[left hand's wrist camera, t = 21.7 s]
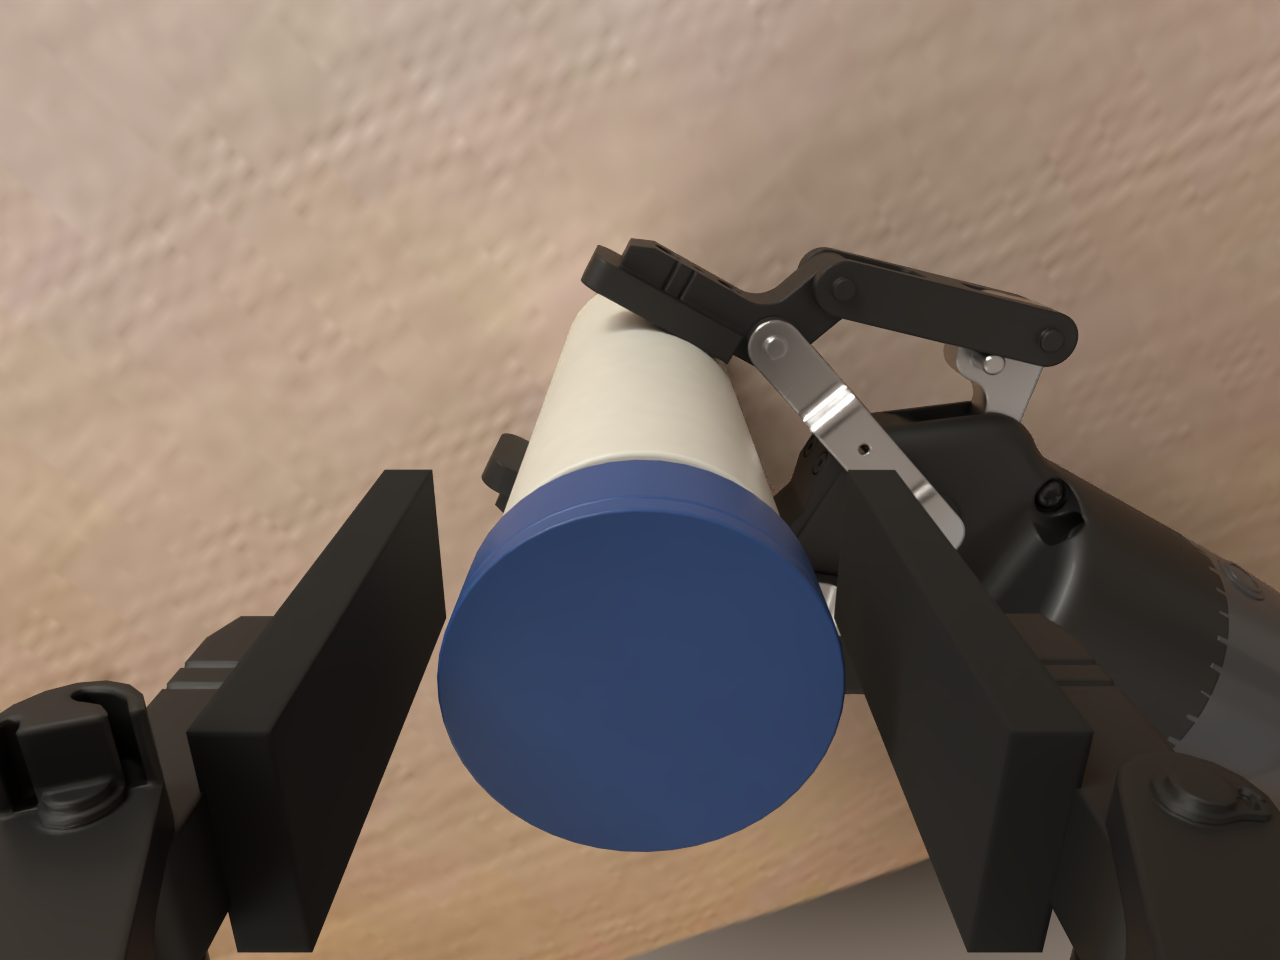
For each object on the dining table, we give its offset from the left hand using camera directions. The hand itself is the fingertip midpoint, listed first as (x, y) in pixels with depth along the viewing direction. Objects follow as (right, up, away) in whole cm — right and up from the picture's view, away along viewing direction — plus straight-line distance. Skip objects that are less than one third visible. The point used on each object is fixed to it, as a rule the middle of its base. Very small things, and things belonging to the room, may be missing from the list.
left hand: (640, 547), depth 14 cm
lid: (0, -1, -3) cm, 4 cm away
